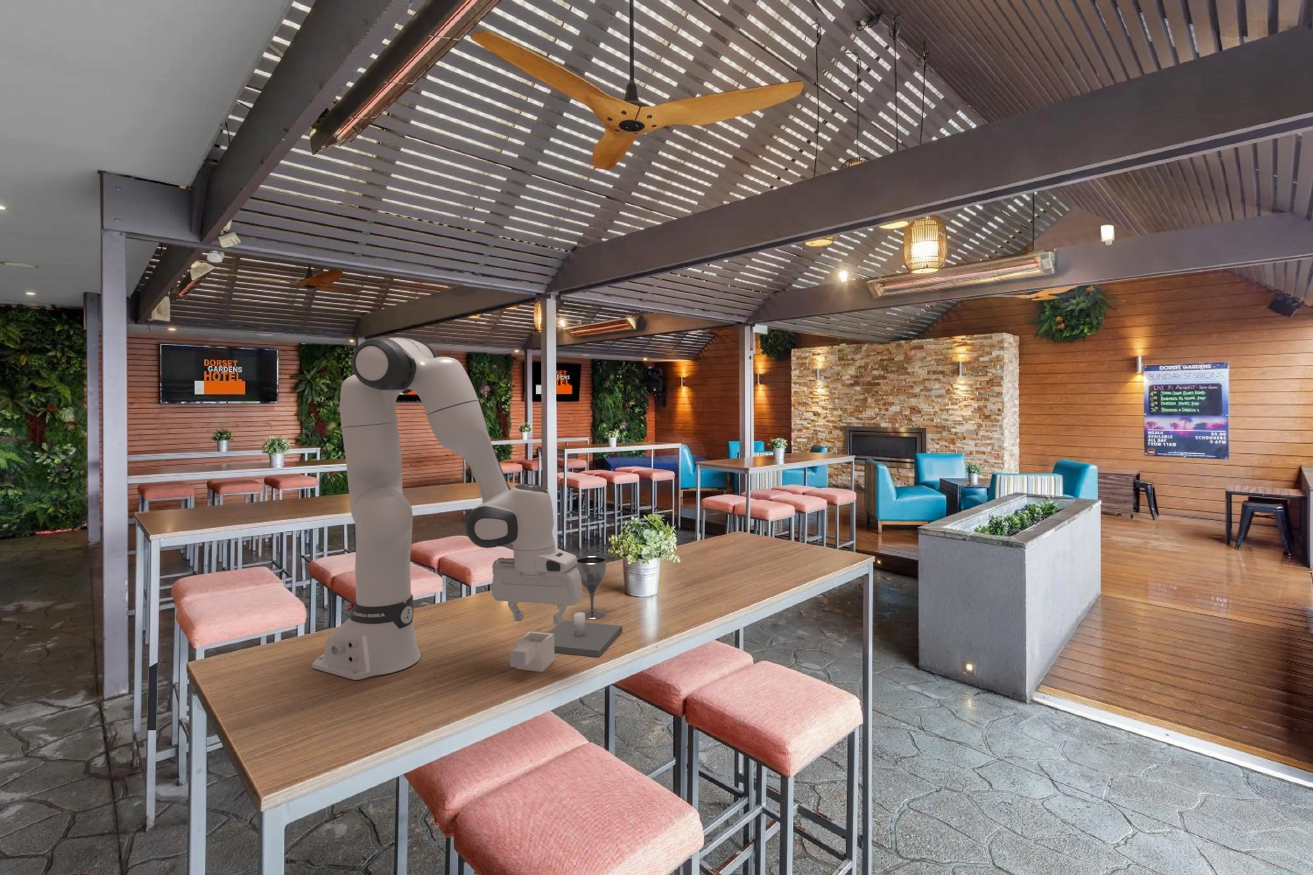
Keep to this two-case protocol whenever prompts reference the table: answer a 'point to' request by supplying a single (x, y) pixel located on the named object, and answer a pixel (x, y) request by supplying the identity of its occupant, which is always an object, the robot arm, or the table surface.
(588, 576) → the wine glass
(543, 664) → the elbow
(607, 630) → the base
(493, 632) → the table surface
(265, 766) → the table surface
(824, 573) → the table surface
